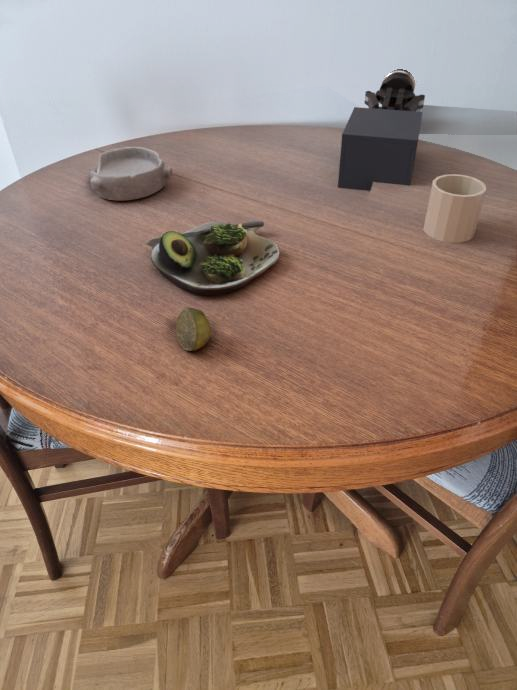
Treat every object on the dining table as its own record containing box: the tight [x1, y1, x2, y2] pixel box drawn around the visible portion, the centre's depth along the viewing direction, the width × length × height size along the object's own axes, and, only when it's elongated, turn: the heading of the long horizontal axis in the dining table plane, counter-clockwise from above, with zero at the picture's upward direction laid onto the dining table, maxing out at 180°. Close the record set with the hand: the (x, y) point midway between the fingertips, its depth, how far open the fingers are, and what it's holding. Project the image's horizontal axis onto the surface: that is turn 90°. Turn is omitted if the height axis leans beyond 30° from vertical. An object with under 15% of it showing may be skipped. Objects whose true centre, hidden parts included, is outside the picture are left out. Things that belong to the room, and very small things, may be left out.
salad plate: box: [145, 220, 281, 297], centre depth 80 cm, size 19×18×5 cm
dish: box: [89, 146, 173, 202], centre depth 99 cm, size 14×14×5 cm
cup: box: [423, 173, 487, 244], centre depth 81 cm, size 7×7×9 cm
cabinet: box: [337, 106, 423, 191], centre depth 99 cm, size 15×13×10 cm
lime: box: [175, 307, 212, 352], centre depth 64 cm, size 4×5×5 cm
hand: (386, 124), depth 106 cm, fingers closed
